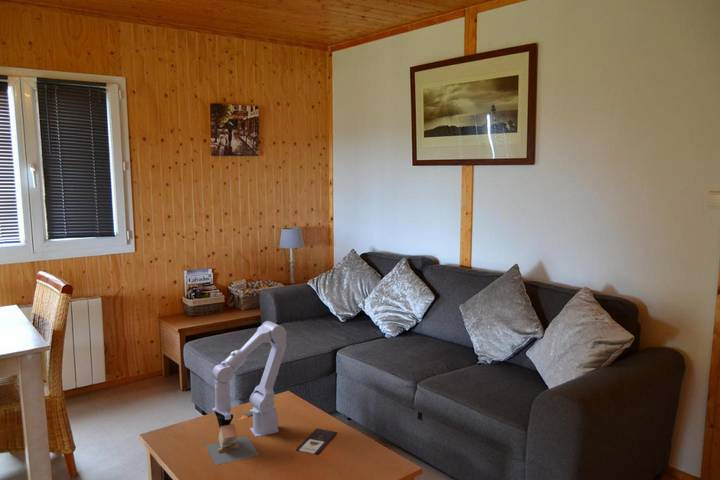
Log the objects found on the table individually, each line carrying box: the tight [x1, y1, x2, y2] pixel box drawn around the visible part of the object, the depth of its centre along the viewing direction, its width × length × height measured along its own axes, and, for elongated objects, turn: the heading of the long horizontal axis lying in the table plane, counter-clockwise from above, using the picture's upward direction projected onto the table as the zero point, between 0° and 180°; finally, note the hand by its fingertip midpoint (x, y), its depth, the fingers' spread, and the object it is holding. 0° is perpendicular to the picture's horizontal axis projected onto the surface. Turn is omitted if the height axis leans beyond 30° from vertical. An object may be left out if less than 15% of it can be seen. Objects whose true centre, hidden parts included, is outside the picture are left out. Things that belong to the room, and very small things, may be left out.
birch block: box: [217, 423, 238, 448], centre depth 213 cm, size 5×5×8 cm
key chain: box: [238, 408, 253, 421], centre depth 242 cm, size 13×4×2 cm, turn 152°
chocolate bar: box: [295, 428, 338, 456], centre depth 220 cm, size 9×1×18 cm
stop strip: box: [218, 444, 240, 453], centre depth 213 cm, size 8×1×1 cm, turn 117°
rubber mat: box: [205, 436, 260, 466], centre depth 213 cm, size 16×16×1 cm
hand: (224, 430), depth 218 cm, fingers open, 4 cm apart
